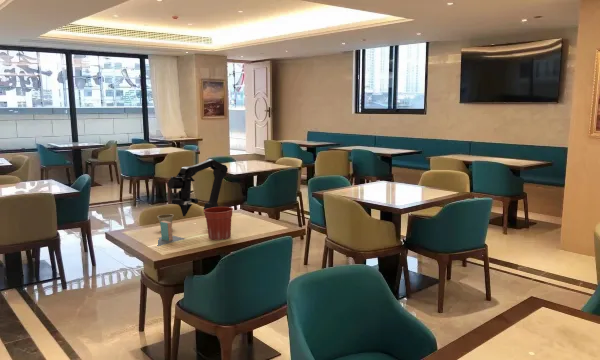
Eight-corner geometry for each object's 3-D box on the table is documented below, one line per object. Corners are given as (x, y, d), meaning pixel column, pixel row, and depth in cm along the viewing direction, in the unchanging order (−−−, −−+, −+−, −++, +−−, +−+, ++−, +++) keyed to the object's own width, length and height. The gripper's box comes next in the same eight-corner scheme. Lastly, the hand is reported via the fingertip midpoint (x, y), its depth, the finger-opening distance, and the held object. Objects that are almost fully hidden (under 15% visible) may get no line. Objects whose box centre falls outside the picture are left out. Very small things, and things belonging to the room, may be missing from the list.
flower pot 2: (230, 232, 288) (229, 205, 286) (237, 239, 273) (236, 210, 270) (202, 235, 282) (201, 208, 280) (208, 242, 267) (206, 213, 265)
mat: (170, 235, 285) (170, 234, 284) (185, 239, 275) (185, 238, 275) (139, 243, 270) (139, 242, 269) (154, 248, 260) (154, 247, 260)
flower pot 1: (172, 231, 294) (171, 217, 293) (156, 232, 294) (155, 217, 293) (176, 227, 303) (175, 214, 302) (161, 228, 304) (160, 214, 302)
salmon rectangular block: (165, 238, 278) (164, 220, 276) (172, 239, 273) (171, 222, 272) (161, 239, 276) (160, 221, 274) (168, 241, 271) (167, 223, 270)
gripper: (183, 187, 293) (181, 213, 294) (163, 188, 276) (162, 216, 276) (199, 189, 289) (197, 215, 290) (180, 189, 272) (179, 218, 272)
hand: (184, 216), depth 282 cm, fingers closed
